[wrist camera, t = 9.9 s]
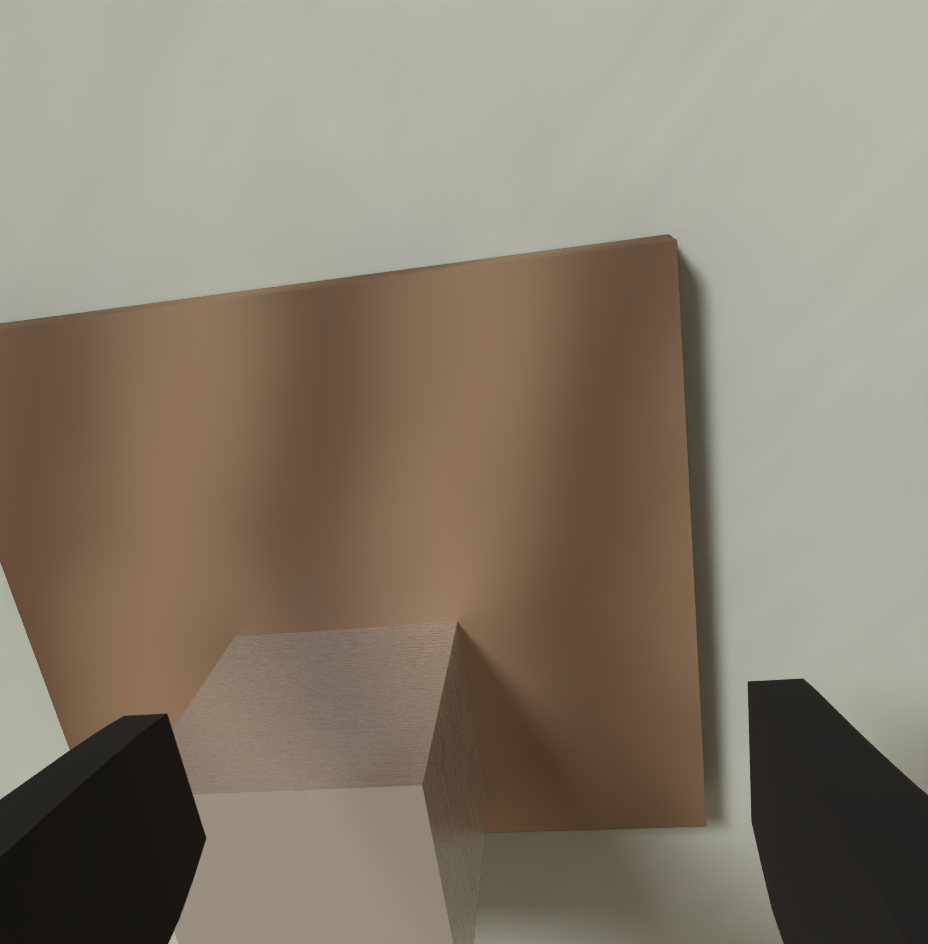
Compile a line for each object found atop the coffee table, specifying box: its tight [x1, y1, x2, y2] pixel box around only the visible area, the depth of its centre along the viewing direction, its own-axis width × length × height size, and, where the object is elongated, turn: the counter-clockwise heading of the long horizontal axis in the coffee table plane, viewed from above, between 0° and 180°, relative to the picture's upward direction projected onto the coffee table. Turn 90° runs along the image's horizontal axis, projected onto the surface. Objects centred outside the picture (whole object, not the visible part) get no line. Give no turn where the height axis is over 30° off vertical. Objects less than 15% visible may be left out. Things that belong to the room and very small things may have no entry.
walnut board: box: [0, 234, 707, 833], centre depth 18 cm, size 16×14×5 cm
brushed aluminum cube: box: [173, 622, 488, 944], centre depth 18 cm, size 5×5×5 cm
